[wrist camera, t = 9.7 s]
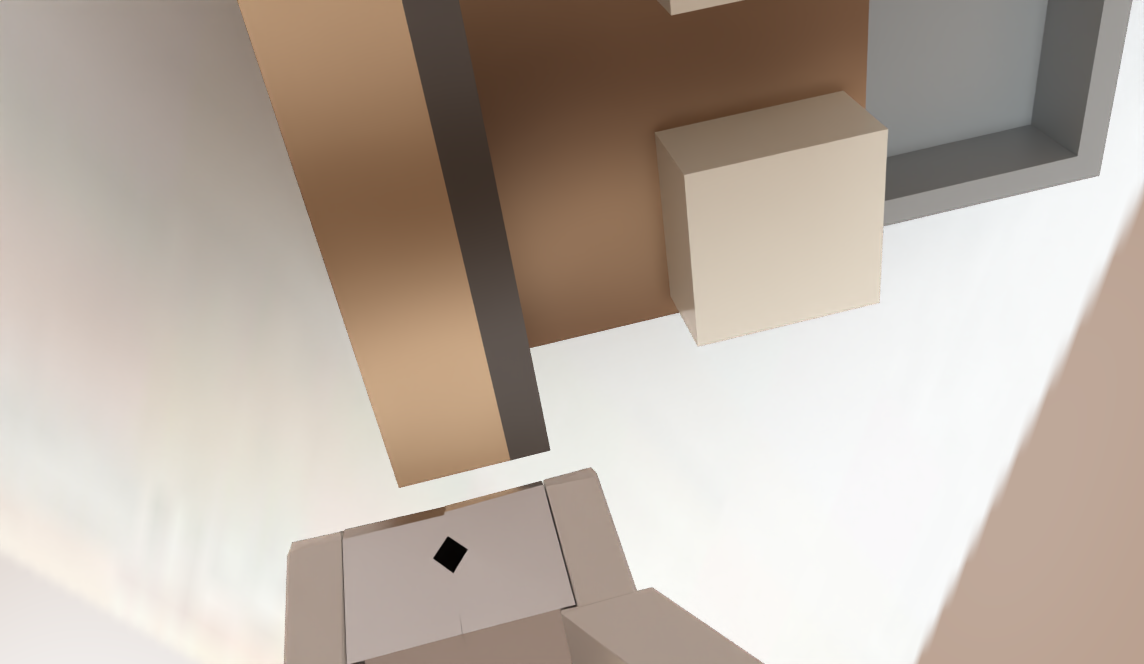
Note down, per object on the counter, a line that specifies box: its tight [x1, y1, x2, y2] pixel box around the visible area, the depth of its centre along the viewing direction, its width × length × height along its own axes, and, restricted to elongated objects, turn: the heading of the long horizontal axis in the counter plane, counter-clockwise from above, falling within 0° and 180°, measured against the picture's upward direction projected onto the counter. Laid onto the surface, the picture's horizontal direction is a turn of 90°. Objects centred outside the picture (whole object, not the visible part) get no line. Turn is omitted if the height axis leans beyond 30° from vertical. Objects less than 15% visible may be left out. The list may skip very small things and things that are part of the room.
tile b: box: [655, 91, 888, 347], centre depth 21 cm, size 4×4×2 cm
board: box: [459, 0, 869, 348], centre depth 21 cm, size 12×11×4 cm
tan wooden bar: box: [237, 0, 550, 488], centre depth 18 cm, size 12×3×4 cm, turn 8°
